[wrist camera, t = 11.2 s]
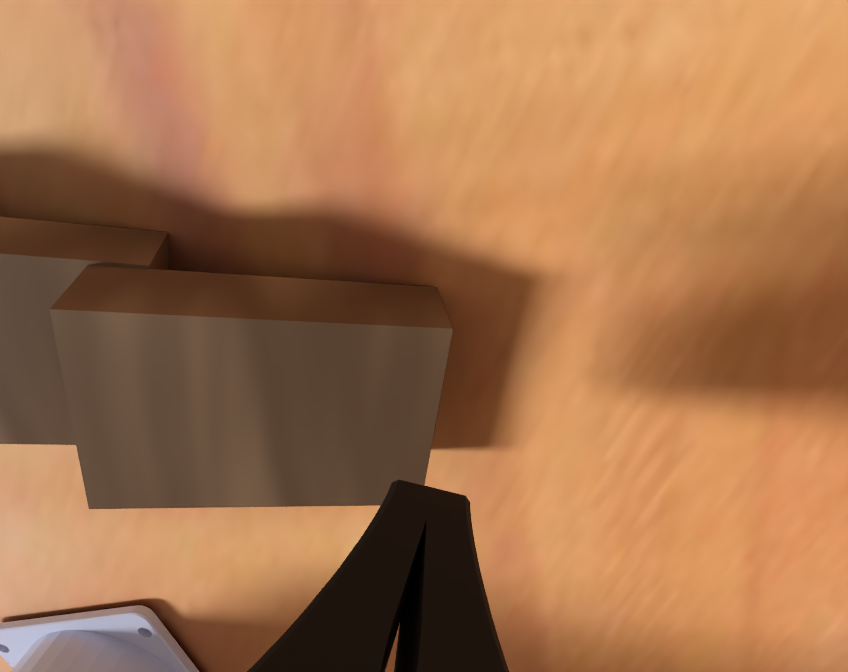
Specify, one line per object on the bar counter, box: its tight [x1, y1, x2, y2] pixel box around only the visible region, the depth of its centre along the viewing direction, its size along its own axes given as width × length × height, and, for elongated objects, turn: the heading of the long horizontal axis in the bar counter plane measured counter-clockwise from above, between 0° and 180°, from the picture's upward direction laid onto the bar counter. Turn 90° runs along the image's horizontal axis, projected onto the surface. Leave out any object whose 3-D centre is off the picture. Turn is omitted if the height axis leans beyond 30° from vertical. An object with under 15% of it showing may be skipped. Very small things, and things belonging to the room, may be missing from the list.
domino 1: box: [49, 265, 453, 509], centre depth 13 cm, size 2×5×8 cm
